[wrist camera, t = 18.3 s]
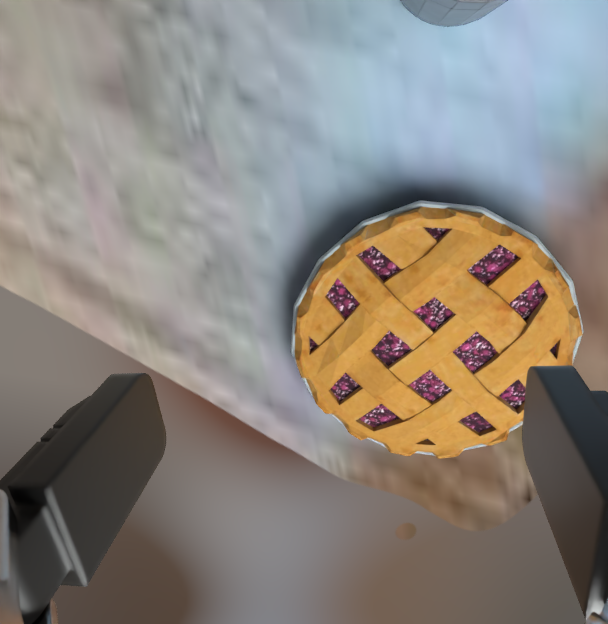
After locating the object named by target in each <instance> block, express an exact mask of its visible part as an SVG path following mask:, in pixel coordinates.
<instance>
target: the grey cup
mask: <svg viewBox="0 0 608 624" xmlns="http://www.w3.org/2000/svg"><path fill="white" fill-rule="evenodd" d="M506 1H508V0H401V2H402V3H403V5H404V6H405V7H406V8H407V9H408V10H409V11H410V12H411V13H412V14H413V15H415V16H416V17H418V18H419V19H421V20H423V21H425V22H427V23H430V24H433V25H438V26H447V27H449V26H459V25H464V24H467V23H470V22H473V21H476V20H479V19H481V18H482V17H484V16H485V15H487V14H488V13H490V12H491V11H493V10H494V9H496V8H497V7H499V6H500V5H502V4H503V3H505V2H506Z"/></svg>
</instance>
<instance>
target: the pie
mask: <svg viewBox="0 0 608 624" xmlns="http://www.w3.org/2000/svg"><path fill="white" fill-rule="evenodd" d="M583 332H584V330H583V326H582V321H581V316H580V312H579V307H578V302H577V298H576V293H575V289H574V284H573V280H572V279H571V278H570V277H569V275H568V274H567V273H566V272H565V270H564V269H563V268H562V267H561V266H560V264H559V263H558V262H557V261H556V259H555V258H554V257H553V256H552V255H551V253H550V252H549V251H548V250H547V248H546V247H545V246H544V245H543V243H542V242H541V241H540V240H539V239H538V237H537V236H536V235H534V234H532V233H530V232H528V231H526V230H524V229H523V228H521V227H519V226H517V225H515V224H513V223H511V222H510V221H508V220H506V219H504V218H502V217H500V216H499V215H497V214H495V213H493V212H491V211H489V210H487V209H486V208H484V207H481V206H471V205H461V204H451V203H441V202H431V201H421V200H420V201H417V202H414V203H411V204H409V205H406V206H403V207H400V208H397V209H394V210H392V211H389V212H386V213H383V214H380V215H377V216H375V217H372V218H369V219H366V220H363V221H362V222H361V223H359V224H358V225H357V226H356V227H355V228H354V229H353V230H351V231H350V232H349V233H348V234H347V235H346V236H344V237H343V238H342V239H341V240H340V241H339V242H338V243H336V244H335V245H334V246H333V247H332V248H331V249H330V250H328V251H327V252H326V253H325V254H324V255H323V256H322V257H320V258H319V259H318V261H317V263H316V265H315V267H314V268H313V270H312V272H311V274H310V276H309V278H308V280H307V282H306V283H305V285H304V287H303V289H302V291H301V293H300V295H299V296H298V298H297V300H296V302H295V304H294V309H293V323H292V338H291V354H292V356H293V358H294V361H295V363H296V365H297V367H298V369H299V372H300V375H301V377H302V378H303V380H304V382H305V385H306V387H307V389H308V391H309V393H310V394H311V395H312V396H313V397H314V399H315V402H316V404H317V405H318V406H319V407H320V408H321V409H322V410H323V411H324V412H325V413H326V414H331V415H333V416H334V417H335V418H336V419H337V420H338V421H339V422H340V423H341V424H342V425H343V426H344V427H345V428H346V429H347V430H348V432H349V433H350V434H352V435H353V436H355V437H356V438H358V439H359V440H363V439H366V438H368V439H370V440H372V441H374V442H376V443H378V444H380V445H382V446H384V447H386V448H387V449H388V450H389V452H391V453H395V454H400V455H405V456H411V455H412V454H414V453H420V454H427V455H433V456H436V457H437V458H438V459H440V458H447V457H455V456H458V455H459V454H460V453H461V452H462V451H463V450H467V449H472V448H477V447H482V446H486V445H487V446H491V445H494V444H497V443H500V442H503V441H506V440H507V437H508V434H509V432H510V431H512V430H514V429H515V428H517V427H519V426H521V425H522V424H523V416H524V403H525V391H526V379H527V372H528V369H529V368H530V367H531V366H567V365H571V366H572V364H573V361H574V358H575V355H576V352H577V349H578V346H579V343H580V341H581V338H582V335H583Z"/></svg>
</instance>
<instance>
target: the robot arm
mask: <svg viewBox="0 0 608 624" xmlns="http://www.w3.org/2000/svg"><path fill="white" fill-rule="evenodd" d="M522 442H523V451H524V456H525V460H526V463H527V466H528V469H529V472H530V474H531V477H532V479H533V482H534V485H535V487H536V490H537V493H538V495H539V498H540V501H541V503H542V506H543V508H544V511H545V514H546V516H547V519H548V522H549V524H550V527H551V530H552V532H553V535H554V537H555V540H556V542H557V545H558V548H559V550H560V553H561V556H562V558H563V561H564V564H565V566H566V569H567V571H568V574H569V577H570V579H571V582H572V585H573V587H574V590H575V592H576V595H577V598H578V601H579V603H580V606H581V608H582V611H583V614H584V616H585V618H586V619H587V620H586V622H585V623H584V624H608V392H606V391H590V390H589V388H588V387H587V385H586V384H585V382H584V381H583V379H582V378H581V376H580V375H579V374H578V372H577V371H576V369H575V368H574V367H573V366H571V365H567V366H531V367H530V368H529V369H528V372H527V379H526V391H525V403H524V416H523V428H522ZM165 446H166V431H165V426H164V423H163V419H162V415H161V411H160V407H159V404H158V400H157V397H156V392H155V389H154V385H153V382H152V379H151V377H150V376H149V375H148V374H146V373H129V374H128V373H127V374H112V375H110V376H109V377H108V378H107V379H106V380H105V381H104V383H103V384H102V385H101V386H100V387H99V388H98V389H97V390H96V391H95V392H94V393H93V394H92V395H91V396H89V397H87V398H86V399H84V400H83V401H81V402H80V403H78V404H76V405H75V406H73V407H72V408H70V409H69V410H67V412H66V413H65V414H64V415H63V416H62V417H61V418H60V419H59V420H58V421H57V422H56V423H55V424H54V425H53V429H51V428H50V429H49V430H48V431H47V432H46V434H45V435H43V437H41V442H37V443H36V444H35V445H34V446H33V447H32V448H31V449H30V450H29V451H28V452H27V453H26V454H25V455H24V456H23V457H22V458H21V459H20V461H19V462H17V464H16V465H15V466H14V467H13V468H12V469H11V470H10V471H9V472H8V473H7V474H6V475H5V476H4V477H3V478H2V479H1V480H0V624H58V615H57V608H56V604H55V602H54V600H53V598H52V597H53V595H54V593H55V592H56V591H57V589H58V588H59V586H60V585H70V586H87V585H88V583H89V582H90V580H91V578H92V576H93V575H94V573H95V571H96V570H97V568H98V566H99V565H100V563H101V561H102V559H103V558H104V556H105V554H106V553H107V551H108V549H109V547H110V546H111V544H112V542H113V541H114V539H115V537H116V536H117V534H118V532H119V530H120V529H121V527H122V525H123V524H124V522H125V520H126V519H127V517H128V515H129V513H130V512H131V510H132V508H133V506H134V505H135V503H136V501H137V500H138V498H139V496H140V495H141V493H142V491H143V489H144V488H145V486H146V485H147V483H148V481H149V479H150V478H151V476H152V474H153V473H154V471H155V469H156V468H157V466H158V464H159V462H160V461H161V459H162V457H163V454H164V451H165Z"/></svg>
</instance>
